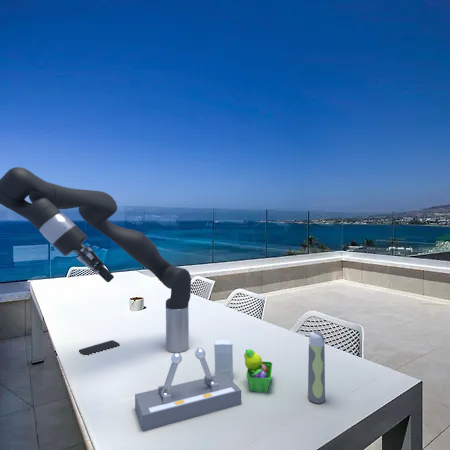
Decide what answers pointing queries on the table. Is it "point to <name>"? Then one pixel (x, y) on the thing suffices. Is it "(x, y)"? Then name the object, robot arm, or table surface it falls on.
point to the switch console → (185, 401)
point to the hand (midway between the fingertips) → (111, 279)
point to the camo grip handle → (316, 368)
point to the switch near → (171, 373)
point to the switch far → (204, 365)
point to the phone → (99, 347)
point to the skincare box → (223, 358)
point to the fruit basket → (257, 371)
